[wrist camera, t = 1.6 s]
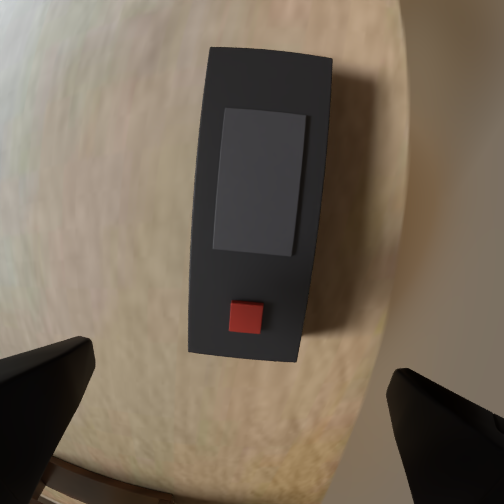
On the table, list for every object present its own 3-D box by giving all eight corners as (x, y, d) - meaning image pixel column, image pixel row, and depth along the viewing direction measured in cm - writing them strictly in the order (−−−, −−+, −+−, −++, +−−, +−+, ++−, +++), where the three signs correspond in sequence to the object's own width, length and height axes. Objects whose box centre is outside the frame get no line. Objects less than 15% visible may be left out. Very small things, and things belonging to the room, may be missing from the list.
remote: (217, 65, 11) (208, 43, 9) (321, 75, 11) (334, 55, 9) (197, 328, 14) (186, 356, 12) (291, 337, 14) (297, 367, 12)
